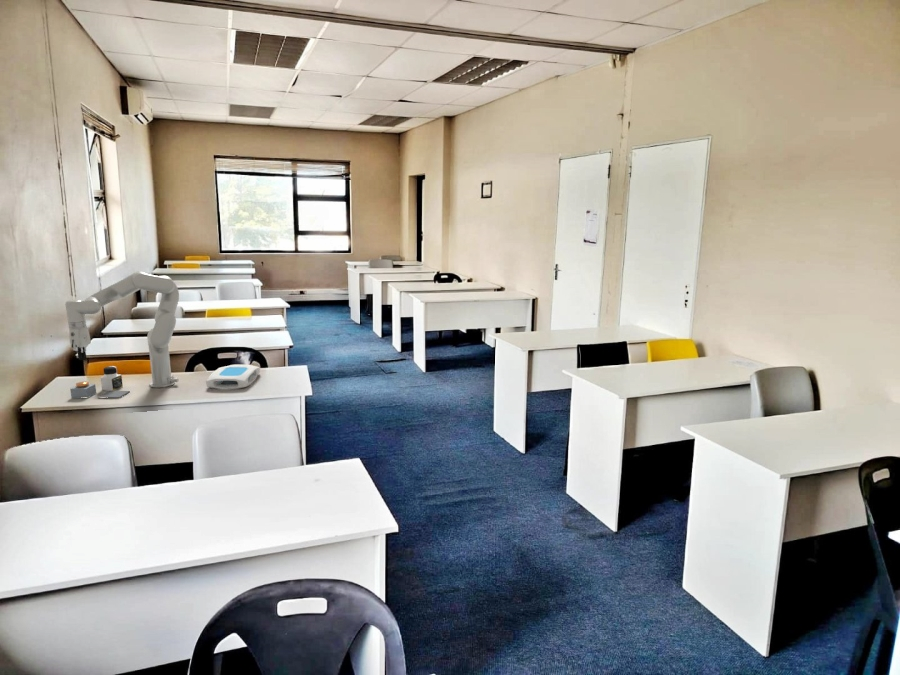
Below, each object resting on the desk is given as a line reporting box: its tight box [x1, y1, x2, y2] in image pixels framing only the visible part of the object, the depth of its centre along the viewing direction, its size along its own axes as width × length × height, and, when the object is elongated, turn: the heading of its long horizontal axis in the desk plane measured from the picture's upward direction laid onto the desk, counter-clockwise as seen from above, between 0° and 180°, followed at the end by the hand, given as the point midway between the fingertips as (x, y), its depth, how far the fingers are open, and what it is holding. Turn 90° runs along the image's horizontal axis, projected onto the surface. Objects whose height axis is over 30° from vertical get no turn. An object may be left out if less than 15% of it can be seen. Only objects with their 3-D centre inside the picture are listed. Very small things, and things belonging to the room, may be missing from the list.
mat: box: [98, 390, 131, 399], centre depth 306 cm, size 11×10×1 cm
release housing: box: [69, 383, 97, 399], centre depth 304 cm, size 8×8×5 cm
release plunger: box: [75, 381, 90, 388], centre depth 304 cm, size 6×6×7 cm
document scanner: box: [205, 364, 261, 390], centre depth 331 cm, size 21×28×6 cm
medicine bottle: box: [100, 365, 124, 391], centre depth 315 cm, size 7×7×12 cm
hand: (82, 359), depth 302 cm, fingers closed
